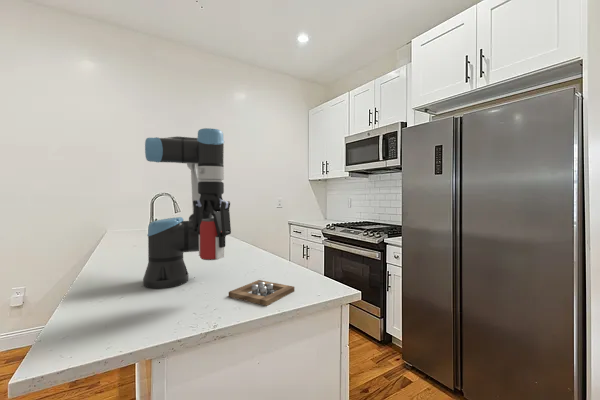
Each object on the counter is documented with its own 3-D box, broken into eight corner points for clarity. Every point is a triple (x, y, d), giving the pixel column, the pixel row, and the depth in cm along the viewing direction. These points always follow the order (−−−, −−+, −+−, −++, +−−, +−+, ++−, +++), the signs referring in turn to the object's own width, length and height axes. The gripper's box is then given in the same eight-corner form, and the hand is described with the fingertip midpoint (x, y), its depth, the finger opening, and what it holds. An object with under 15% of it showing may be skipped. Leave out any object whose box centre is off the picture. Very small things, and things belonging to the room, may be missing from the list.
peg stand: (250, 294, 94) (250, 285, 94) (261, 290, 99) (261, 281, 99) (263, 297, 92) (263, 288, 92) (274, 292, 96) (274, 283, 96)
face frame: (228, 296, 93) (228, 291, 93) (258, 284, 106) (258, 279, 106) (266, 305, 85) (266, 300, 85) (294, 291, 98) (294, 286, 98)
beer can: (216, 261, 86) (215, 220, 86) (195, 260, 88) (195, 219, 87) (226, 256, 93) (226, 218, 92) (206, 255, 94) (206, 217, 94)
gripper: (179, 181, 91) (180, 255, 92) (225, 180, 81) (225, 263, 82) (198, 181, 98) (199, 250, 99) (243, 181, 88) (243, 258, 89)
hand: (211, 256), depth 90 cm, fingers closed on beer can, 7 cm apart
